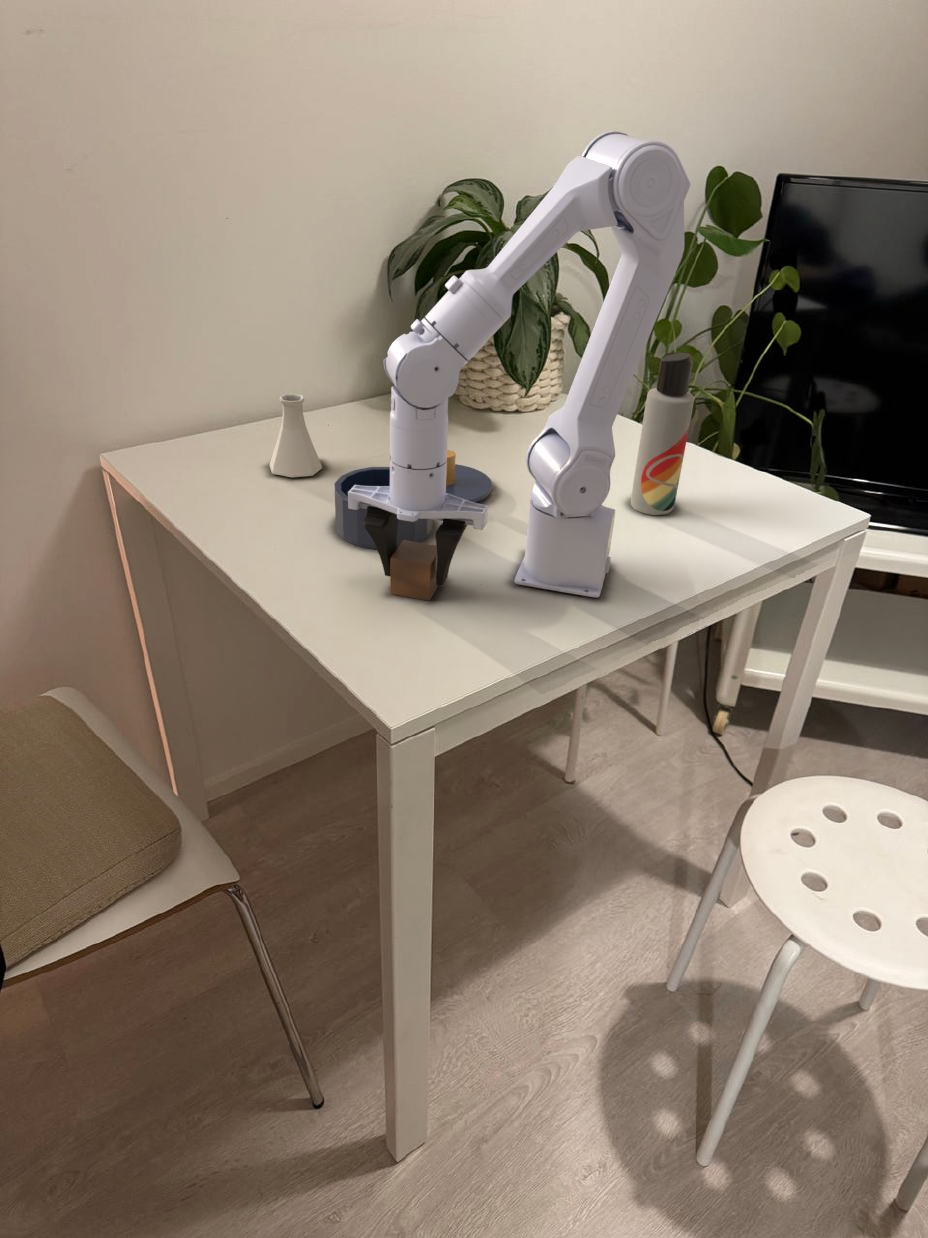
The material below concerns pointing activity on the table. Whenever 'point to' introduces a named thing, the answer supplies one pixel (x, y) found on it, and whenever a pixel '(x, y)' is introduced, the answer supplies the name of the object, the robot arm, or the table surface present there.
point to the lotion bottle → (663, 437)
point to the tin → (352, 520)
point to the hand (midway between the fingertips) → (416, 576)
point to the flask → (294, 442)
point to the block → (414, 570)
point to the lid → (466, 481)
